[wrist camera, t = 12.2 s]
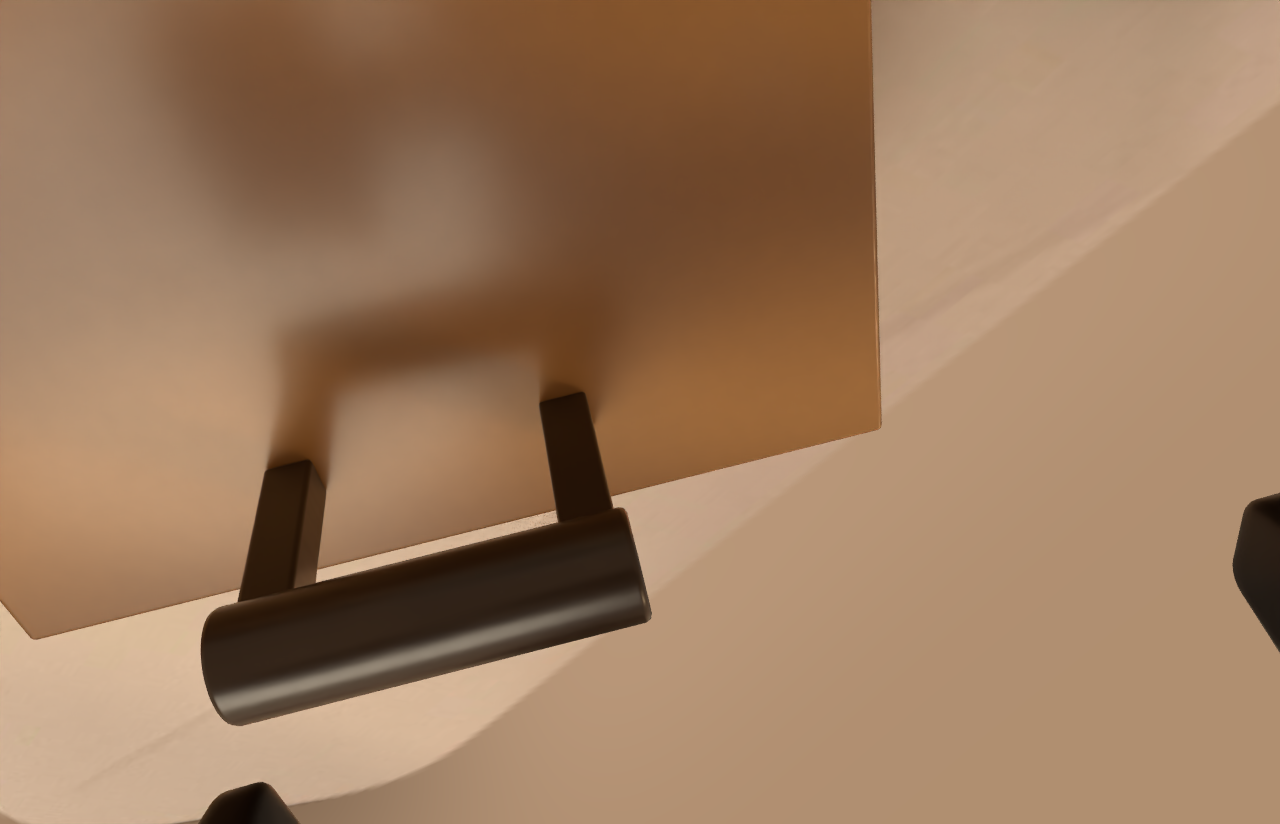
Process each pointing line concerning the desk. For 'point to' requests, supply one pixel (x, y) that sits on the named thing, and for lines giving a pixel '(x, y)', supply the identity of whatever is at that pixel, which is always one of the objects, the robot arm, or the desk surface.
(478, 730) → the desk surface
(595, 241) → the lid
